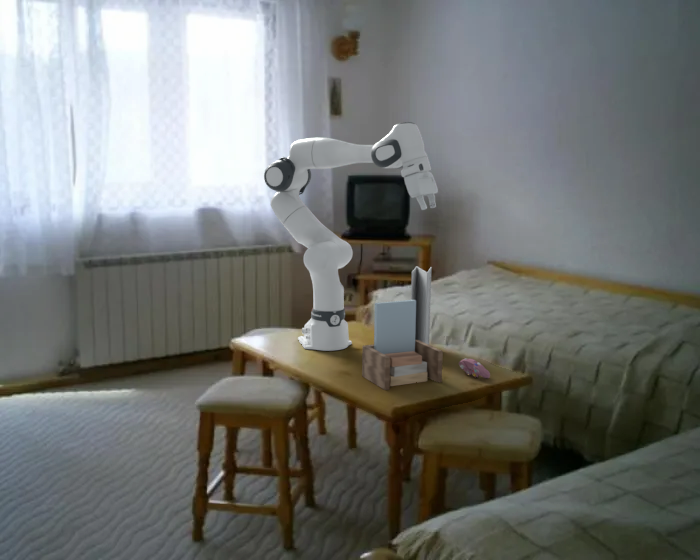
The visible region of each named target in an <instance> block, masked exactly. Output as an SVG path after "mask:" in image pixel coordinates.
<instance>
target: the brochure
mask: <svg viewBox="0 0 700 560" xmlns="http://www.w3.org/2000/svg"><path fill="white" fill-rule="evenodd" d="M432 268H433V267H432V266H430V268H429V269H428V271H426V270H424V269H423V268H420V266H417V265H416V266H415V267H414V269H412V271H411V281H410V283H411V287H410V288H411V289H410V294H411V295H410V300H416V326H415V340H419V341H422V342H424V343H426V344H428V345H430V331H431V327H430V326H431V298H432V297H431V295H432Z"/></svg>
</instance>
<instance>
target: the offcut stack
mask: <svg viewBox="0 0 700 560" xmlns="http://www.w3.org/2000/svg"><path fill="white" fill-rule="evenodd" d="M385 355H386V356H388V357H390V385H389V387H394V386H401V385H408V384H416V382H417V383H424V382H428V377H427V374H428V372H427V362H425V361H422V356H421V355H419V354H418V353H416V352H414V351H411V352H400V353H388V354H385Z"/></svg>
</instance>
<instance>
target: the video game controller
mask: <svg viewBox="0 0 700 560" xmlns="http://www.w3.org/2000/svg"><path fill="white" fill-rule="evenodd" d="M458 365H459V367H460V369H461V370H463V371H464V372H465V373H466V375H468V374H469V375H468V376H471V375H472V376H473V377H474V378H476V377H477V378H478V377H479V376H481V378H484V379H490V377H491V372H490V371H489V370H488V369H487V368H485V366H484V365H483V364H481V363H480V361H479V362H478V361H476V359H474V358H467V357H465V358H464V359H461V360H460V361H458Z"/></svg>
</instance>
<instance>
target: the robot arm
mask: <svg viewBox="0 0 700 560" xmlns="http://www.w3.org/2000/svg"><path fill="white" fill-rule="evenodd" d="M425 150H426V149H425V143H424V139H423V137H422V133H421V131H420V129H419V126H418V125H417V124H416V123H414V122H412V121H407V122H406V121H403V122H399V123H398V122H397V123H396V124H394V125H393V127H392V128H391V130H390V131H389V132H388V134H386V135H385V136H384V137H382V139H380V140H379V141H377V142H375V144H358V143H357V144H356V143H352V142H347V141H344V140H340V139H336V138H329V137H308V138H301V139H297V140H295V141H293V142H292V143H291V145H290V147H289V154H288V156H287V157H286V156H281V157H280V158H279V159H277V160H275V161H274V162H271V164H269V165H268V166H267V167H266V168H265V170H264V173H263V179H264V183H265V184H266V185H267V187H268V188H269V189H271V190H273V191H275V193H274V194H273V195H272V198H271V199H270V207H271V209H272V211H273V213H274V215H275V217H276V218H277V219H278V220H279V222H280V223H281V224H282V226H283V227H284V228H285V229H286V230H287V231H288V233H289V234H290V236H291V237H292V238H293V239H294V240H295V241H296V242H297V243H298V244H300V245H302V246H304V247H305V248H307V249H306V250H305V251H304V254H303V258H302V259H303V264H304V267H305V268H306V269H307V271H308V272H309V275H310V279H311V283H312V291H313V298H312V299H313V304H312V305H313V307H312V308H311V311H310V312H311V315H310V317H311V318H310V319H308V321H307V322H306V323H305V324H304V327H302V328H301V334H302V335H300V336H298V337H297V341H298V340H299V341H298V342H299V343H300V345H301V344H302V345H301V346H302V347H303V349H306V350H315V351H316V350H317V351H324V352H326V351H329V352H332V351H340V350H341V351H342V350H344V349H346V348H348V347H349V346H350V345H352V343H353V342H352V340H350V336H349V323H348V322H347V321H346V320H345V318H346V311H345V310H346V309H345V307H344V306H345V305H344V304H345V301H344V300H345V299H344V298H345V292H344V291H345V288H344V285H343V284H342V283H341V281H340V275H339V269H343V268H344V267H345V266H346V265H348V264H349V263H350V261H351V260H352V258H353V254H354V251H353V249H352V248H353V247H352V246H351V244H350V243H349V242H347V241H346V240H344V239H342V238H340V237H339V236H338V235H337V234H336V233H334V232H333V231H332V230H330V229H329V228H328V227H326V226H325V225H324V224H323V223H322V222H321V221H320V220H319V219H318V218H317V217H316V215H314V213H312V211H311V209H310V208H309V207H308V206H307V205H306V204H305V203H304V202H303V200H302V199H301V198H300V195H303V194H304V192H305V190H306V188H307V187H308V185H309V184H310V182H311V179H312V172H311V170H327V169H334V168H339V167H344V166H349V165H352V164H353V165H354V164H363V163H365V164H368V163H370V164H371V163H373V164H374V165H375V166H376V167H378V168H380V169H396V170H397V169H399V170H400V169H401V170H400V174H401V177H402V178H403V180H404V185H405V187H406V190H407V193H408V195H409V196H410V197H411V199H413V198H416V200H417V201H416V202H417V203H418V204H419V207H420V209H421V211H425V210H427V209H428V205H427V203H426V201H425V197H426V196H427V198H428V202H429V208H430V209H434V208H437V205H436V204H437V203H436V195H435V194H438V193H439V188H438V186H437V182H436V180H435V177H434V175H433V173H432V172H431V171H432V167H431V163H430V159H429V156H428V153H427V152H426V151H425Z"/></svg>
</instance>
